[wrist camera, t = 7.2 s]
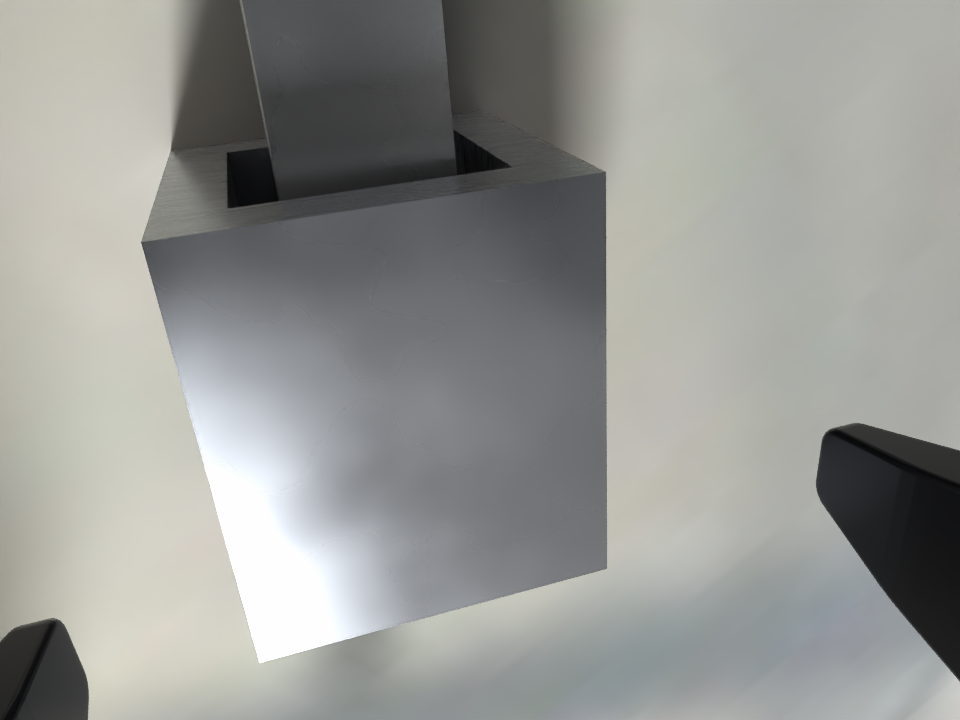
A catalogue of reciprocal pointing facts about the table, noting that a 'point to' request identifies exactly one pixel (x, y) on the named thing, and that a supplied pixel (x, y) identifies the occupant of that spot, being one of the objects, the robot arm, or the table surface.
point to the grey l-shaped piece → (351, 92)
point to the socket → (391, 378)
